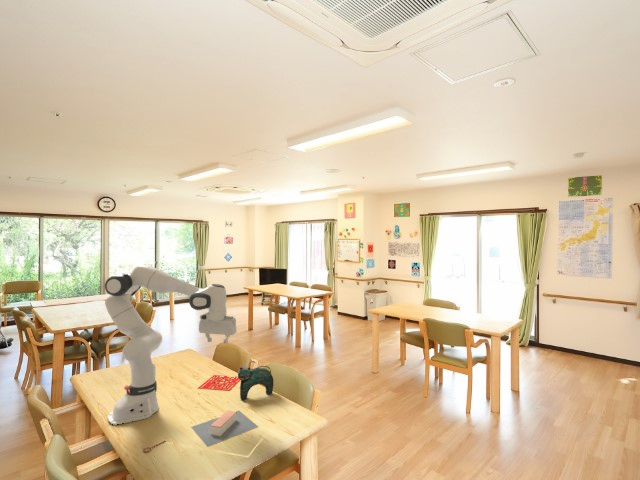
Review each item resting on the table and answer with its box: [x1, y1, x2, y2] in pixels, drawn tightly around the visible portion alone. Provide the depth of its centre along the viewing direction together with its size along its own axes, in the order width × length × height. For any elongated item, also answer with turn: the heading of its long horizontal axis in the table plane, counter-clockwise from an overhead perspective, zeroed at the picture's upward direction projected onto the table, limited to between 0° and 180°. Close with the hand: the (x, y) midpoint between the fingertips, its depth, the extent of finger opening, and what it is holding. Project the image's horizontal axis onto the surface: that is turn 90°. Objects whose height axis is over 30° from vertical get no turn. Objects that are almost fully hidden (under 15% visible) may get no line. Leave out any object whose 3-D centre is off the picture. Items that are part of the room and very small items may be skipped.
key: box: [142, 440, 167, 454], centre depth 145 cm, size 6×1×15 cm
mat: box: [190, 410, 259, 448], centre depth 156 cm, size 24×20×1 cm
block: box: [211, 409, 237, 436], centre depth 156 cm, size 4×5×14 cm
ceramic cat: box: [237, 360, 274, 401], centre depth 189 cm, size 20×6×20 cm, turn 114°
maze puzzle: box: [197, 374, 241, 392], centre depth 207 cm, size 20×20×1 cm
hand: (217, 342), depth 175 cm, fingers open, 8 cm apart
